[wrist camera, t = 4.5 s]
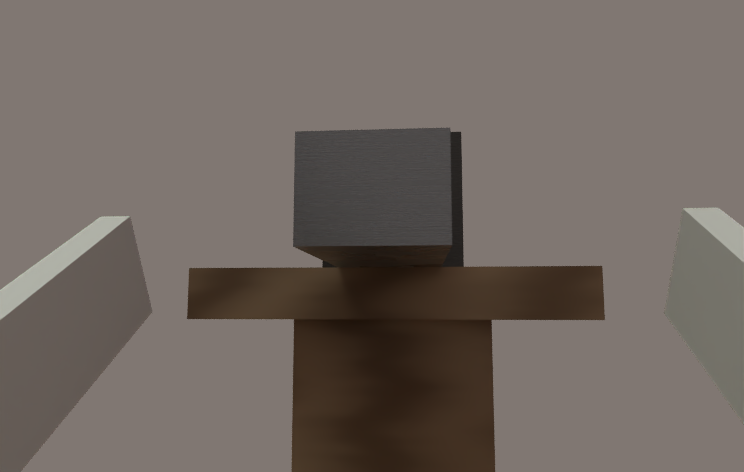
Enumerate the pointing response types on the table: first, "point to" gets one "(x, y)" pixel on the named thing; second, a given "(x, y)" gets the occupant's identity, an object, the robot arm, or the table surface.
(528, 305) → the walnut stand
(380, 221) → the bar
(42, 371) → the robot arm
